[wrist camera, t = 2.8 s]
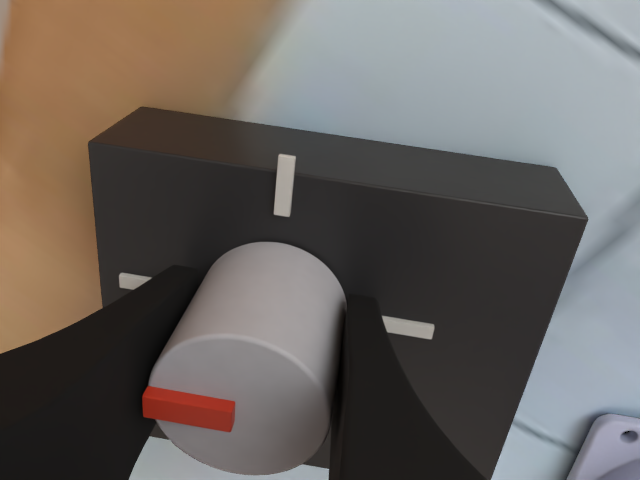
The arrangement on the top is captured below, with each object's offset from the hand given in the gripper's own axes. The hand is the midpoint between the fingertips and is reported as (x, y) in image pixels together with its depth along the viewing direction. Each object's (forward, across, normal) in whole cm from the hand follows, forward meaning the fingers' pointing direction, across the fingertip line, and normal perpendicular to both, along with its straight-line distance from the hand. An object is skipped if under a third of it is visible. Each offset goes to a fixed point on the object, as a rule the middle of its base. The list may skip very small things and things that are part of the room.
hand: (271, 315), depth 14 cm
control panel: (+3, -1, +1) cm, 4 cm away
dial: (0, 0, 0) cm, 0 cm away
